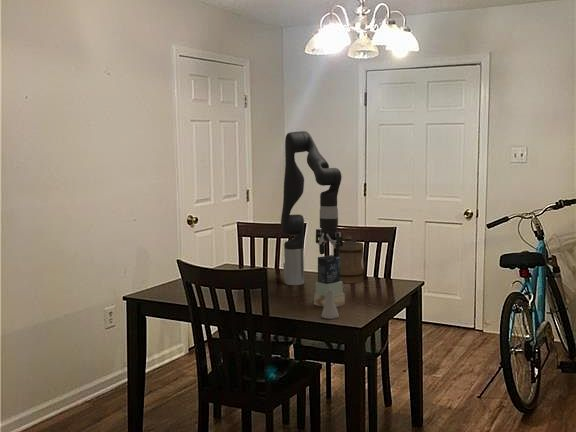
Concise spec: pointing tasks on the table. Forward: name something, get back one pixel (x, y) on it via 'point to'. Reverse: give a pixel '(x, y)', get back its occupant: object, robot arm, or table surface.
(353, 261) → the wooden container
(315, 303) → the tower base
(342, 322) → the table surface
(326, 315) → the flask
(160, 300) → the table surface
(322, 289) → the tower top
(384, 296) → the table surface
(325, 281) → the box
